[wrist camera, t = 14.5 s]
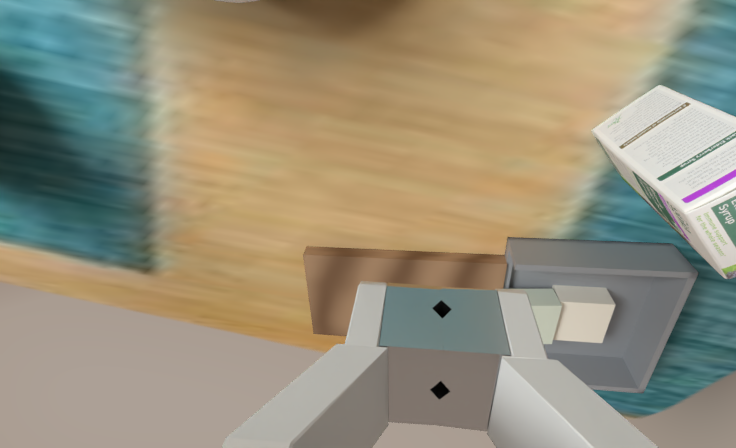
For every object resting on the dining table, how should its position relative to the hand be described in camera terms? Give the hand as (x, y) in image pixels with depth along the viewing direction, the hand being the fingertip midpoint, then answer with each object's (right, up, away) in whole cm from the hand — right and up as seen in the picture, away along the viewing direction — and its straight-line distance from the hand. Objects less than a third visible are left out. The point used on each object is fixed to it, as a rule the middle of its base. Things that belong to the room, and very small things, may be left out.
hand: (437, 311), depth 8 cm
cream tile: (+20, -7, +35) cm, 40 cm away
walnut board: (+2, -6, +37) cm, 38 cm away
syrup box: (+21, +9, +26) cm, 34 cm away
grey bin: (+19, -6, +35) cm, 41 cm away
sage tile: (+14, -7, +35) cm, 38 cm away
